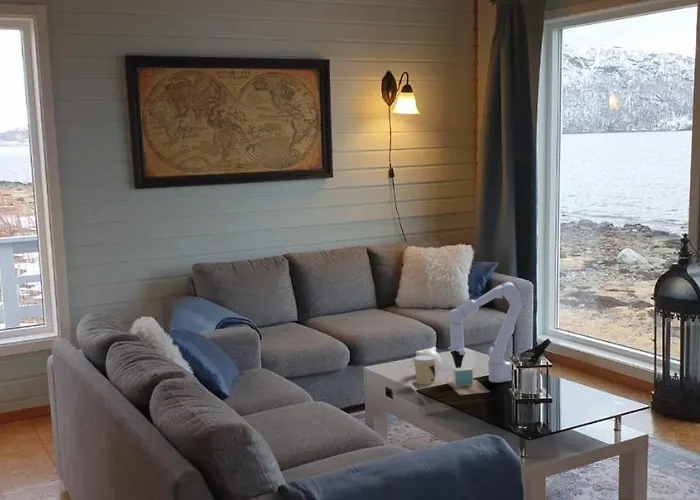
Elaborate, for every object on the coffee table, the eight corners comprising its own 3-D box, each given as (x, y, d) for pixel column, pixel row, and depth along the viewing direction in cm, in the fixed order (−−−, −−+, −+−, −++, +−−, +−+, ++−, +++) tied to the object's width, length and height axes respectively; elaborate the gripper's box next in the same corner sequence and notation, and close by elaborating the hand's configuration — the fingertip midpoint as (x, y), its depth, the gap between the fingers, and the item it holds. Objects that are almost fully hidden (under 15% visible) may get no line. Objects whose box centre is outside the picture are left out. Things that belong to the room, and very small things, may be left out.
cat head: (426, 381, 351) (424, 354, 350) (407, 376, 362) (405, 350, 361) (451, 374, 360) (449, 348, 359) (431, 369, 371) (430, 344, 369)
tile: (472, 383, 339) (471, 368, 338) (473, 385, 337) (472, 369, 336) (454, 385, 338) (453, 369, 337) (455, 386, 336) (454, 370, 335)
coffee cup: (435, 387, 341) (434, 360, 340) (413, 387, 343) (412, 360, 341) (437, 381, 350) (436, 355, 349) (416, 381, 352) (415, 355, 351)
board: (475, 382, 345) (475, 379, 345) (490, 394, 326) (490, 391, 326) (446, 385, 344) (446, 382, 344) (459, 397, 324) (459, 395, 324)
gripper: (443, 334, 349) (444, 364, 350) (452, 341, 335) (453, 372, 336) (459, 332, 350) (460, 362, 351) (468, 339, 336) (469, 370, 337)
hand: (458, 367), depth 344 cm, fingers closed
